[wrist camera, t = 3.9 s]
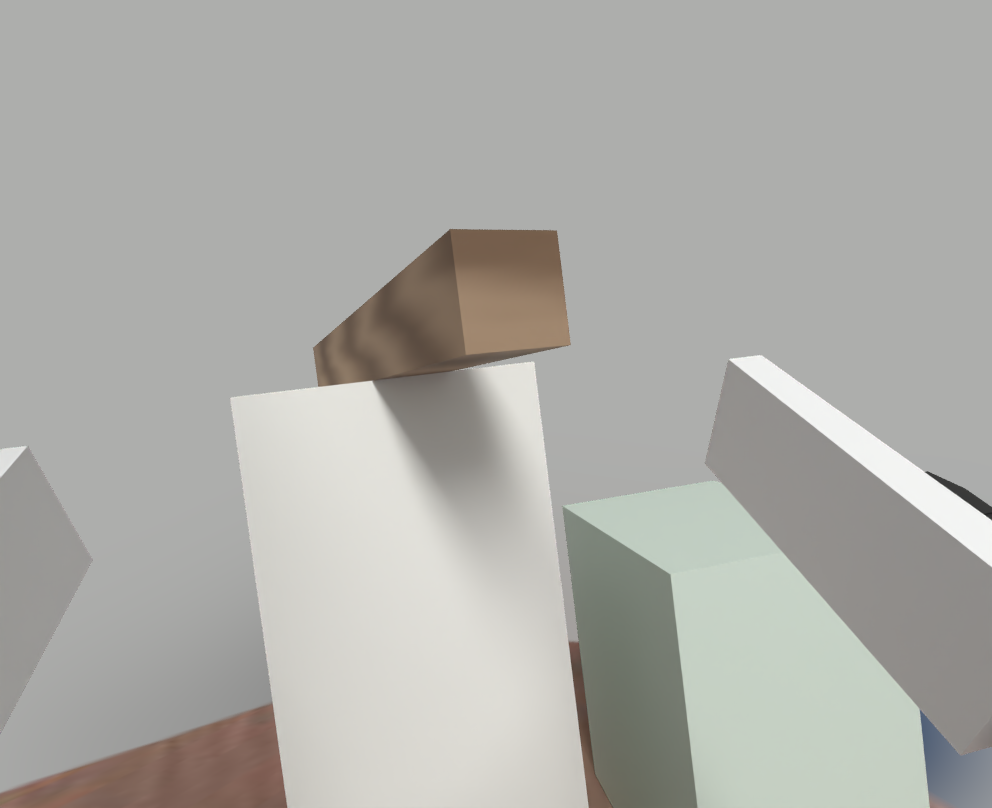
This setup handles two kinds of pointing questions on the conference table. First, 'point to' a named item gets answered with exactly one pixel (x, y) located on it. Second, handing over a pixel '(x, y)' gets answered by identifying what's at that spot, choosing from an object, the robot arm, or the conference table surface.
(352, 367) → the walnut bar
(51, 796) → the conference table surface
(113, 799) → the conference table surface
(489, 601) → the off-white rectangular block
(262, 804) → the conference table surface
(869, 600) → the robot arm
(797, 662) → the low stand
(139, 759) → the conference table surface
